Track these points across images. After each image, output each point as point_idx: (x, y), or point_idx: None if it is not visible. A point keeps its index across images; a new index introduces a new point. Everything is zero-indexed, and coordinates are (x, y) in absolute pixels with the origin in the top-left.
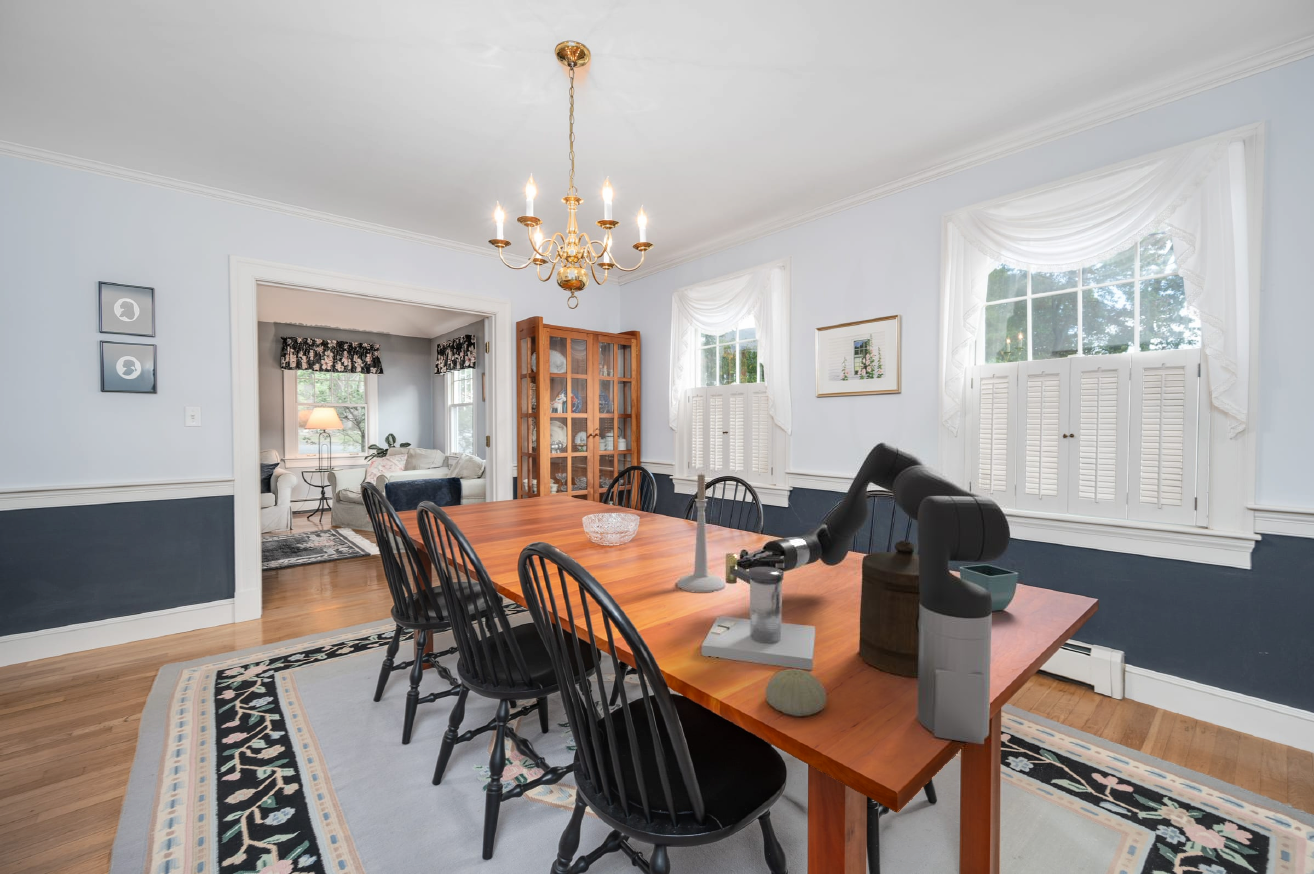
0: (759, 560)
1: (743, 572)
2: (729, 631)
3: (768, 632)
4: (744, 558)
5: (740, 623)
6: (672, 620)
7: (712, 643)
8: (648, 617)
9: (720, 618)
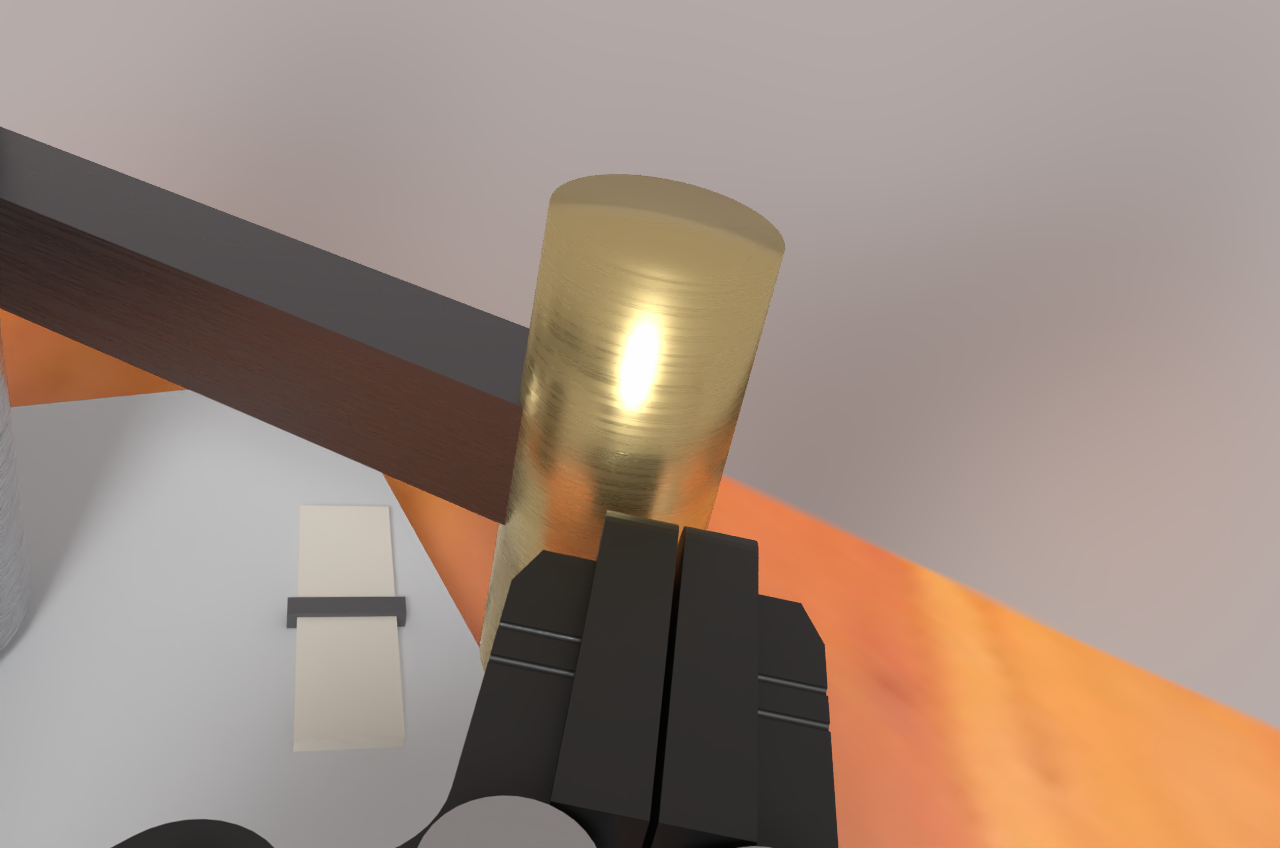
0: (165, 823)
1: (200, 215)
2: (260, 592)
3: None
4: (719, 800)
5: (248, 788)
6: (947, 755)
7: None
8: (1110, 703)
9: None
